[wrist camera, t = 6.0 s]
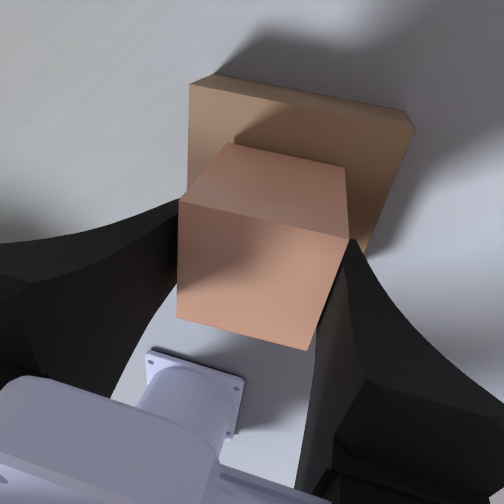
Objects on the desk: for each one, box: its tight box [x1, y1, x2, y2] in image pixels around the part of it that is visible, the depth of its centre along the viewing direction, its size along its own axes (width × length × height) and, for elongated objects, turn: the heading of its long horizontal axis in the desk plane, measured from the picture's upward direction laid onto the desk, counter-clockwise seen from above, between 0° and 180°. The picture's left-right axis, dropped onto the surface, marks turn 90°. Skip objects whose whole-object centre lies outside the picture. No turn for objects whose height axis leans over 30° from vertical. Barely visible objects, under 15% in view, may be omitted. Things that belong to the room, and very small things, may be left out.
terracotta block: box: [176, 143, 349, 351], centre depth 12 cm, size 4×4×5 cm
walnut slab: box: [187, 74, 415, 254], centre depth 15 cm, size 8×8×3 cm
